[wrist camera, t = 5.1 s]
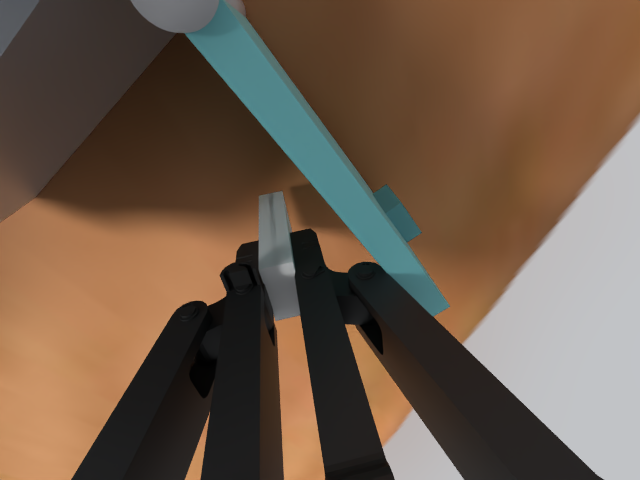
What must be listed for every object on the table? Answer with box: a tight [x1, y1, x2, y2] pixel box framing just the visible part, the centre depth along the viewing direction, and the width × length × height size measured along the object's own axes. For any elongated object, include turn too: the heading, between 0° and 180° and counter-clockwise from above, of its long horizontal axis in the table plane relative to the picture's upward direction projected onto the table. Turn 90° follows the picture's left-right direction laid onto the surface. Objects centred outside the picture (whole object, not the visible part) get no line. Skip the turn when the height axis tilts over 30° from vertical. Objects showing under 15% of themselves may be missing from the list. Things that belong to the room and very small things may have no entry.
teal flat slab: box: [130, 0, 450, 316], centre depth 13 cm, size 2×13×10 cm, turn 37°
